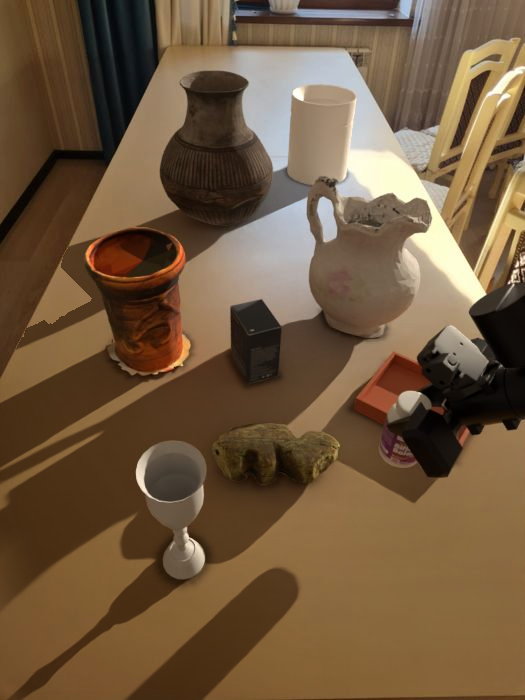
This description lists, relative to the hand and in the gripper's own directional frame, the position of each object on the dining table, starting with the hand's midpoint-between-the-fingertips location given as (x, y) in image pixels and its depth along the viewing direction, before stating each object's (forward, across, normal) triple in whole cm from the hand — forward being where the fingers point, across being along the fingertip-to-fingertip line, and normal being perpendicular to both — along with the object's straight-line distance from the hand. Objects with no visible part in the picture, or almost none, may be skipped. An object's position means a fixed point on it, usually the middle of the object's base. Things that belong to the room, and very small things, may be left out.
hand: (399, 414), depth 66 cm
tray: (+9, -14, +8) cm, 19 cm away
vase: (+53, -41, -36) cm, 76 cm away
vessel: (+39, +2, -22) cm, 44 cm away
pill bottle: (+4, 0, +6) cm, 7 cm away
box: (+28, -6, -10) cm, 30 cm away
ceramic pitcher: (+24, -28, -6) cm, 37 cm away
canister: (+50, -77, -33) cm, 97 cm away
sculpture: (+18, +8, 0) cm, 19 cm away
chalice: (+18, +26, -1) cm, 31 cm away
